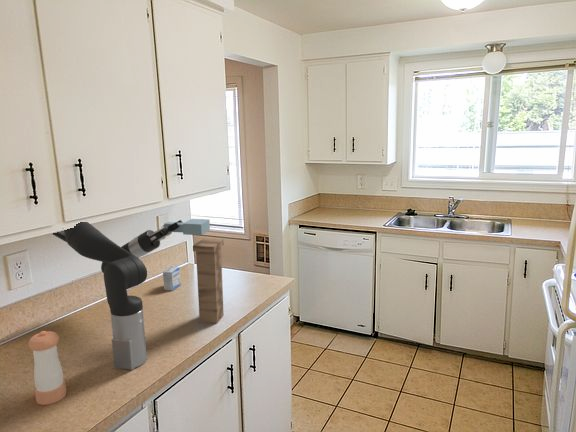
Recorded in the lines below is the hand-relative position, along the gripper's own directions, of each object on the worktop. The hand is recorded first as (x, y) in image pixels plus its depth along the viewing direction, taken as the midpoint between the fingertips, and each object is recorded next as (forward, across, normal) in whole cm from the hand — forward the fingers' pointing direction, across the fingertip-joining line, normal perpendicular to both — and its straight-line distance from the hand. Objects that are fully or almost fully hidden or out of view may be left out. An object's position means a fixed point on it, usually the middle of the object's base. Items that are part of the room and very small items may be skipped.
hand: (179, 223), depth 156 cm
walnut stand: (-9, 0, +37) cm, 38 cm away
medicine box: (-34, +27, +23) cm, 49 cm away
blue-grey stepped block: (+1, 0, +4) cm, 4 cm away
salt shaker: (-31, -53, +25) cm, 66 cm away
